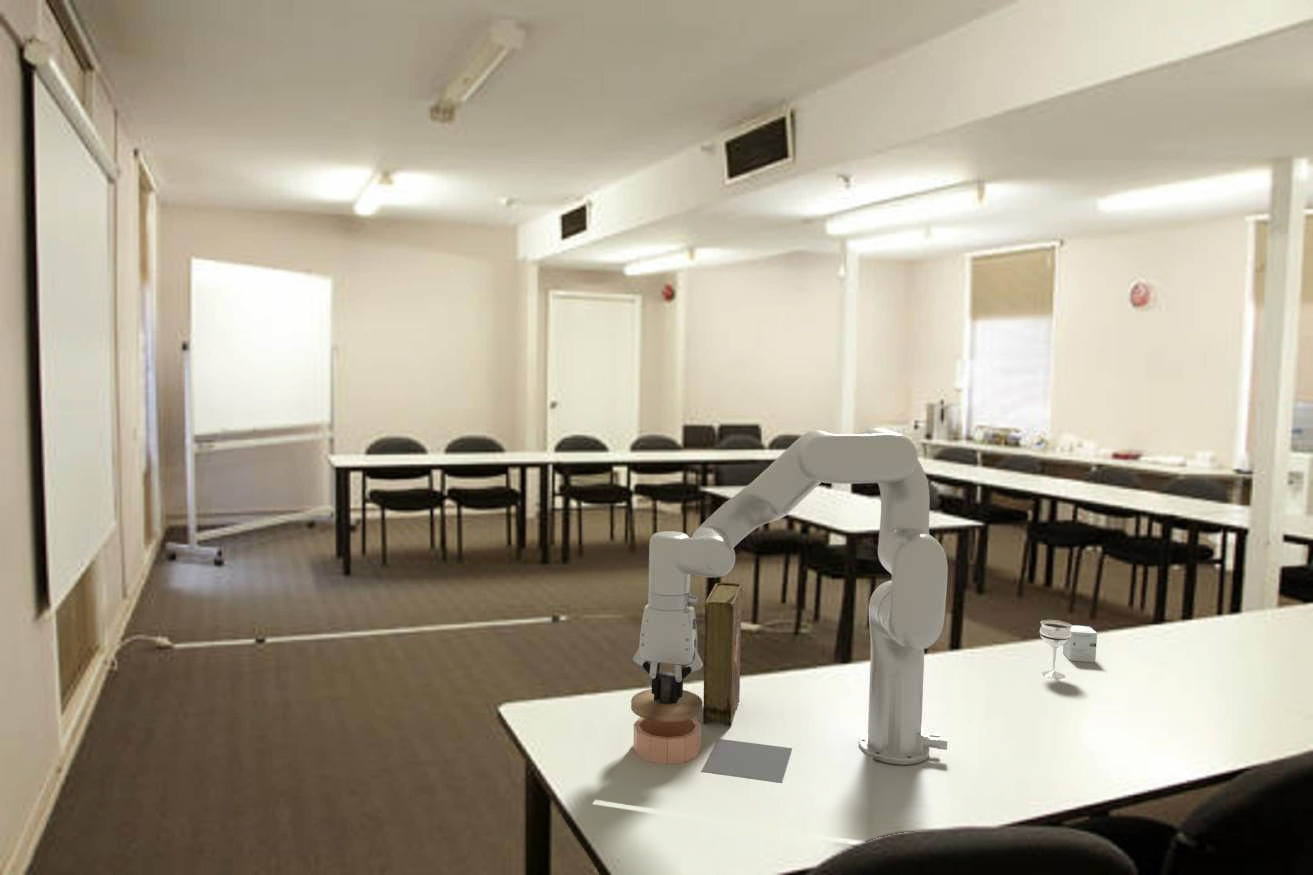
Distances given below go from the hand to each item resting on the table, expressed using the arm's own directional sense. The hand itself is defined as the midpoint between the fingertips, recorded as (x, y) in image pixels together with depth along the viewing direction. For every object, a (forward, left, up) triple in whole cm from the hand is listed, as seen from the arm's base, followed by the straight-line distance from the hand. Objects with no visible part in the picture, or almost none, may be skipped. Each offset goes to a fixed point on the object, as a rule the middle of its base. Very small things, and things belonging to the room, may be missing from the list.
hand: (667, 698), depth 162 cm
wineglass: (-75, -66, -10) cm, 101 cm away
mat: (-15, 0, -10) cm, 18 cm away
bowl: (0, 0, -10) cm, 10 cm away
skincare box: (-83, -81, -10) cm, 117 cm away
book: (-6, -21, -10) cm, 24 cm away
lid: (0, 0, -2) cm, 2 cm away
